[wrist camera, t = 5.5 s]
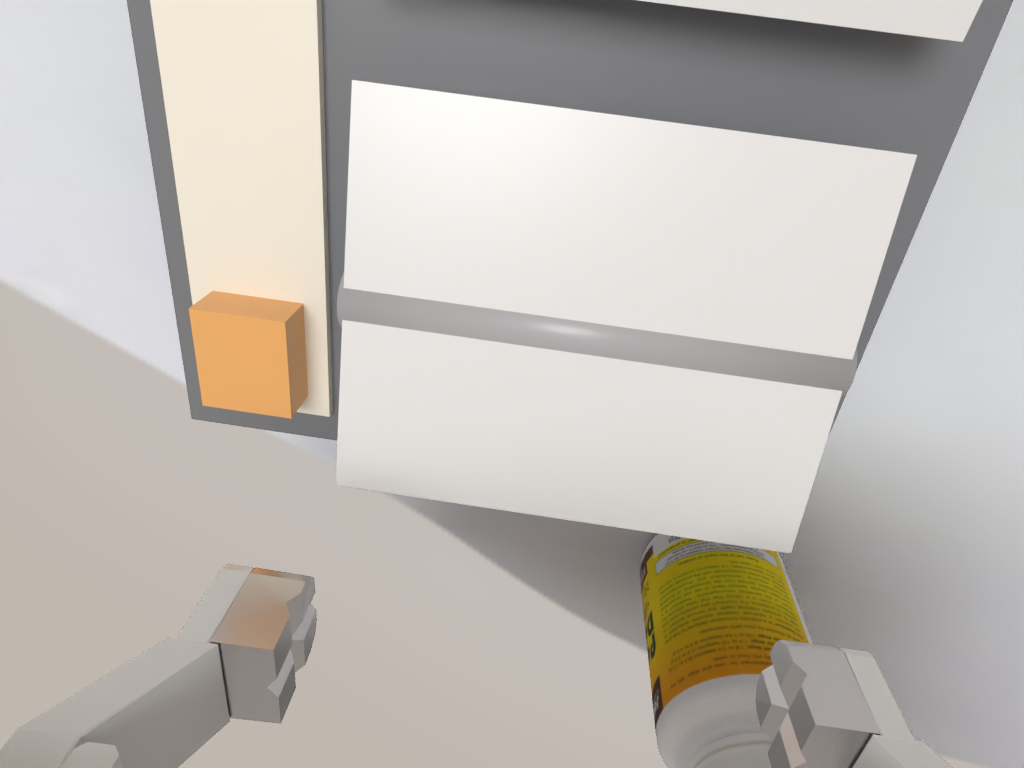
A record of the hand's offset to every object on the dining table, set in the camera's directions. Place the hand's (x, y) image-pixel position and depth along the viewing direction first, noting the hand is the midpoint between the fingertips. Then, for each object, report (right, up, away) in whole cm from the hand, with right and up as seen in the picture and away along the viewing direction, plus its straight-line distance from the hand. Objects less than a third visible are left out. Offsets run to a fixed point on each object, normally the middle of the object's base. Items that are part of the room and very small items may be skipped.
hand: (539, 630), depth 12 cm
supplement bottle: (+8, -3, +15) cm, 17 cm away
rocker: (+1, +5, +3) cm, 6 cm away
